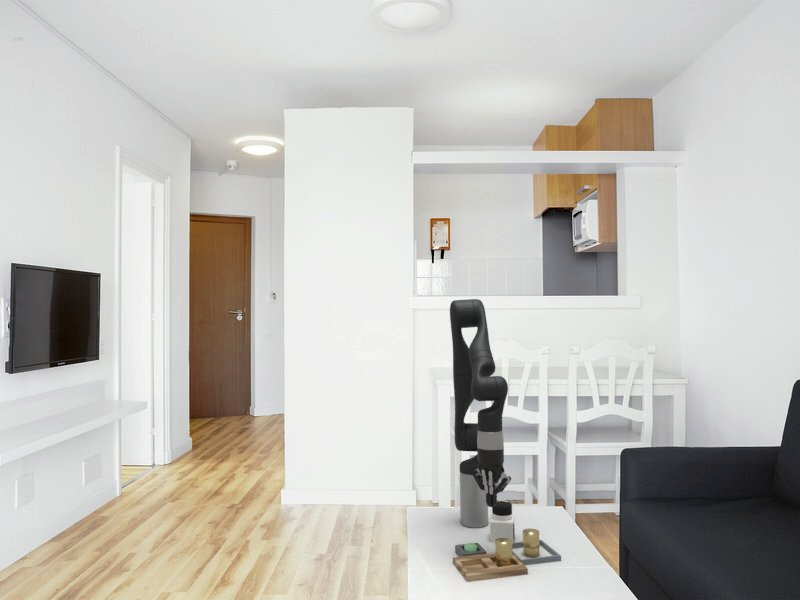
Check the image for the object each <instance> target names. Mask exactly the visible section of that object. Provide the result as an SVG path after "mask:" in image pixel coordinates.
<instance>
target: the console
mask: <svg viewBox="0 0 800 600" xmlns="http://www.w3.org/2000/svg"><path fill="white" fill-rule="evenodd" d="M473 543H474V544H476V545H477V551H473V552H465V551H464V545H465V544H466V543H462V544H455V545H454V552H455V554H456V555H457V557H462V556H471V555H479V554H488V553H487V551H486V550H485V548H483V546H481V544H480V543H479V542H473Z"/></svg>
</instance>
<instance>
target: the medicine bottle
mask: <svg viewBox="0 0 800 600" xmlns="http://www.w3.org/2000/svg"><path fill="white" fill-rule="evenodd" d="M491 509H492V510H491V511H492V512H491V514H490V520H489V535H490V536H489V540H490V542H492V543H495V540H496V539H498V538H508V539H511V540H512V543H515V535H516V534H515V533H516V532H515V515H514V514H513V505H512V502H510V501H507V500H503V499H501V500H498V499H497V504H496V506H494V507H491Z"/></svg>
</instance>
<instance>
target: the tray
mask: <svg viewBox="0 0 800 600" xmlns="http://www.w3.org/2000/svg"><path fill="white" fill-rule="evenodd" d="M539 546H540V547H542V548H543V549H544V550H545V551H546V552H548V553H549V554H550V555H547V556H539V557H537V558H529V557H528V558H521V557H520V556H519V555H518V554H516V552H515V551H514V550H513V549H520V548H522V549H523V541H516V542H515V541H514V543H512V554H513V555H514V556H515V557H516V558H517V559H518V560H520V561H521V562H522V563H523V564H524V565H525V566H529V565H537V564H538V565H539V564H546V563H547V564H548V563H555V562H562V555H561V554H560V553H559V552H557V551H556V550H555V549H554V548H552V546H550V545H549V544H548V543H546V542H545V541H544V540H543V539H539Z"/></svg>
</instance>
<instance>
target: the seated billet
mask: <svg viewBox="0 0 800 600" xmlns="http://www.w3.org/2000/svg"><path fill="white" fill-rule="evenodd" d="M494 544H495V545H494V547H495V548H494V549H495V552H494V553H495V555H496V566H497V567H502V566H510V565H513V557H512V551H513V549H512V540H511V539H508V538H498V539H496V540H495V542H494Z"/></svg>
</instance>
